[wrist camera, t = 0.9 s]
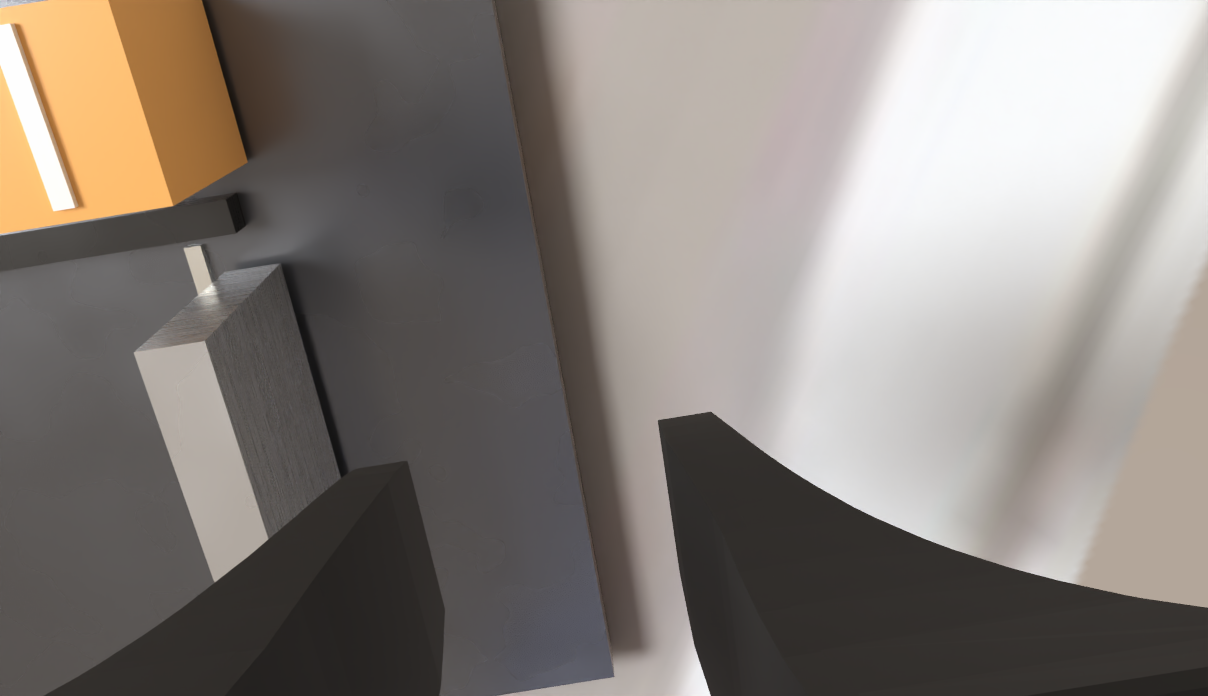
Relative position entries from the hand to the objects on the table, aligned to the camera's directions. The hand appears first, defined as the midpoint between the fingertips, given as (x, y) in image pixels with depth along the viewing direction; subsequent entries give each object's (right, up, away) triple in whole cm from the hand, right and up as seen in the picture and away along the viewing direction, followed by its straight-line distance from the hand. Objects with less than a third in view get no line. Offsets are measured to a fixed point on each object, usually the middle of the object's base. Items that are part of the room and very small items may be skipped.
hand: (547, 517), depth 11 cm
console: (-8, +1, +8) cm, 12 cm away
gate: (-5, 0, +7) cm, 9 cm away
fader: (-7, +6, +5) cm, 11 cm away
